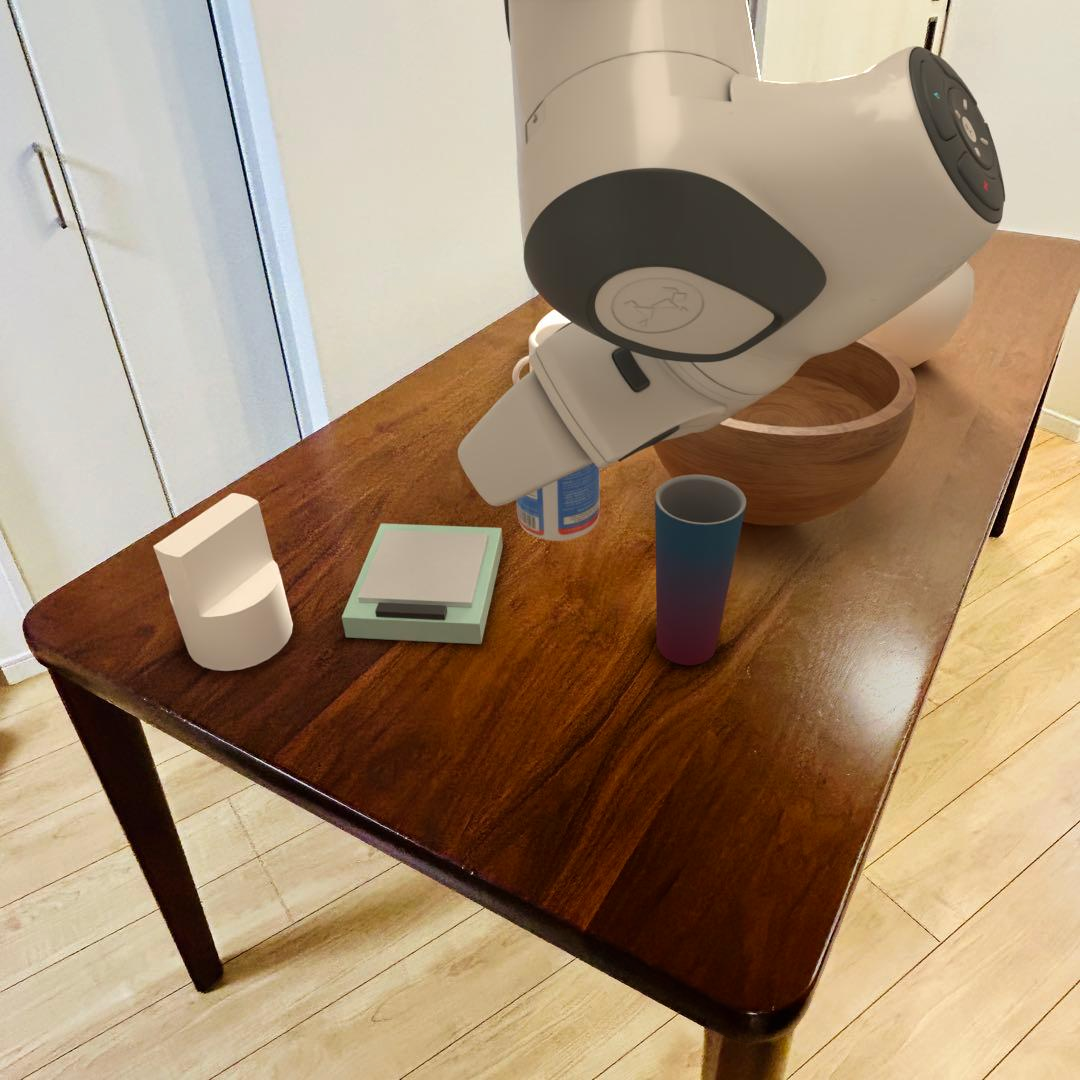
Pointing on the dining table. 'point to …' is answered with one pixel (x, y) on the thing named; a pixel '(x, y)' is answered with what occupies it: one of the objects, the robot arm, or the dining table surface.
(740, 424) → the bowl
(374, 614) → the scale
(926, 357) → the vase
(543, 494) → the pill bottle
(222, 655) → the base with upright slab
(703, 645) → the cup
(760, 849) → the dining table surface
